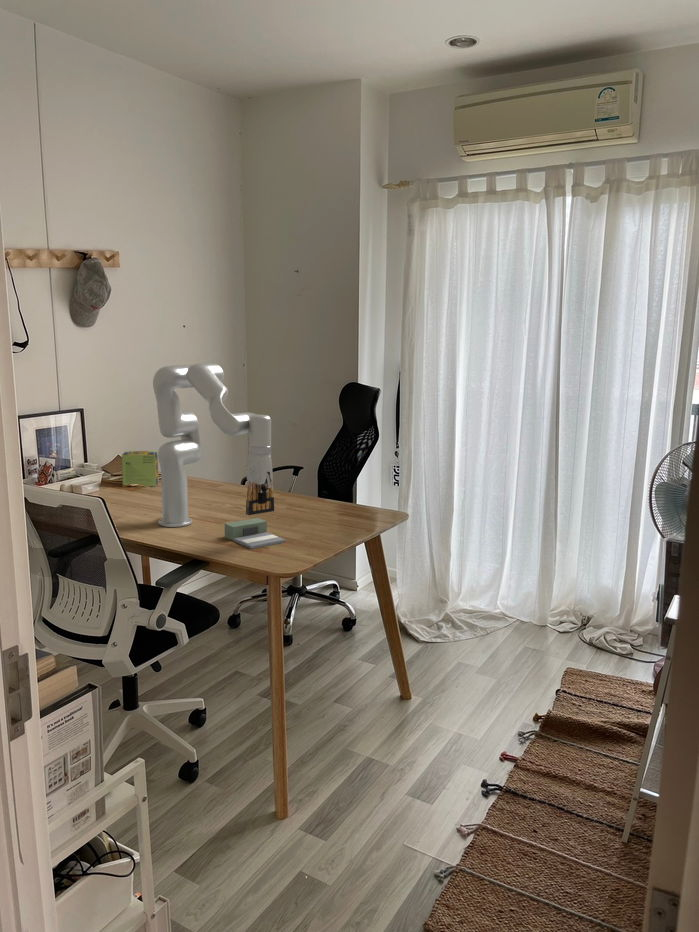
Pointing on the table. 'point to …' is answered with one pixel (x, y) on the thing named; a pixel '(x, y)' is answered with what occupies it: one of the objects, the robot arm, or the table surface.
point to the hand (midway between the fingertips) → (260, 502)
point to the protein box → (140, 468)
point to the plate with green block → (251, 533)
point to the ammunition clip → (252, 500)
